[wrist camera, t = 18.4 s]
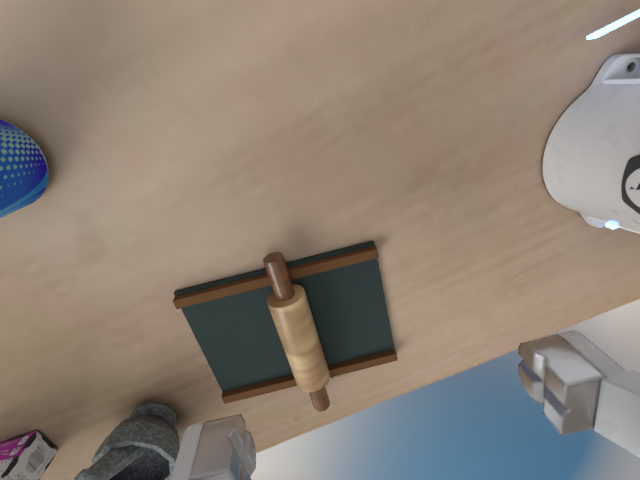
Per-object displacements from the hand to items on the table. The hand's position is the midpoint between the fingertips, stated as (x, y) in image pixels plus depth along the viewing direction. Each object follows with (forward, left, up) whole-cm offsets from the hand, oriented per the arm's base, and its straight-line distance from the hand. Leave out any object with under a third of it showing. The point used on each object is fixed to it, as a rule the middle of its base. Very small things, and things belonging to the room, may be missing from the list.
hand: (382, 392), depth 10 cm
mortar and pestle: (+30, +28, -29) cm, 50 cm away
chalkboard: (+7, +19, -29) cm, 35 cm away
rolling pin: (+6, +19, -29) cm, 35 cm away
